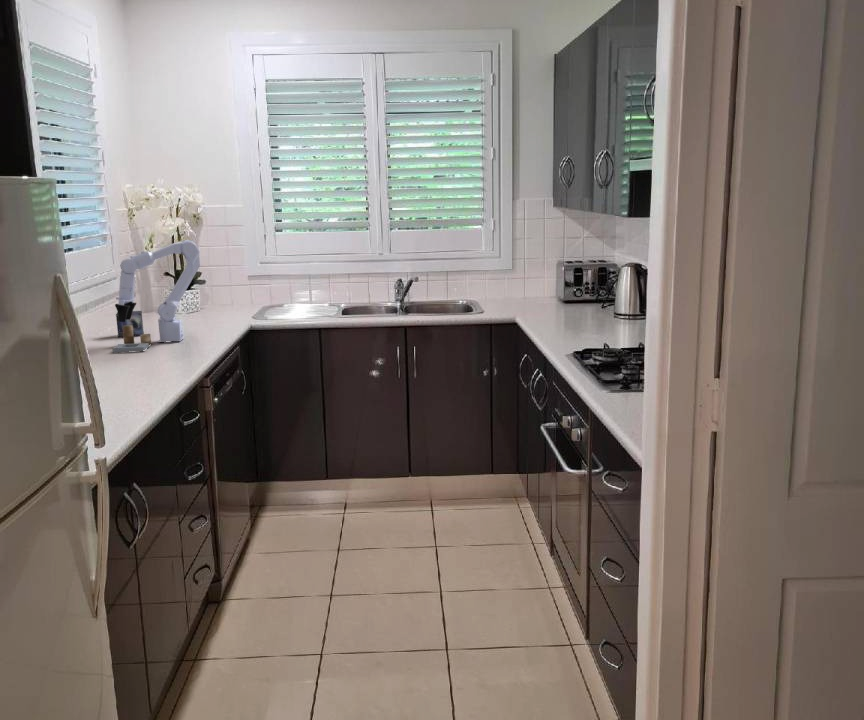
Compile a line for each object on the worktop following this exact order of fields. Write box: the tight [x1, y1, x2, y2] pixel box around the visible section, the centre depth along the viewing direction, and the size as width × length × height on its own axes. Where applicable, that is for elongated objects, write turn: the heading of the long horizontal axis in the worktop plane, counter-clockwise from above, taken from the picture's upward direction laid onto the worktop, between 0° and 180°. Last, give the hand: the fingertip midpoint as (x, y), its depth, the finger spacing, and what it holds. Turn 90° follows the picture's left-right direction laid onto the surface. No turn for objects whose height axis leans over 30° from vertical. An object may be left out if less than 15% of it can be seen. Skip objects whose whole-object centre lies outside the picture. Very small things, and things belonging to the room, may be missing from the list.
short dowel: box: [139, 333, 152, 345], centre depth 339 cm, size 4×4×4 cm
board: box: [112, 342, 150, 354], centre depth 329 cm, size 12×8×2 cm, turn 95°
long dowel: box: [122, 325, 135, 344], centre depth 340 cm, size 4×4×8 cm
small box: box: [115, 310, 145, 338], centre depth 360 cm, size 11×6×10 cm, turn 105°
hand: (124, 320), depth 339 cm, fingers open, 7 cm apart
